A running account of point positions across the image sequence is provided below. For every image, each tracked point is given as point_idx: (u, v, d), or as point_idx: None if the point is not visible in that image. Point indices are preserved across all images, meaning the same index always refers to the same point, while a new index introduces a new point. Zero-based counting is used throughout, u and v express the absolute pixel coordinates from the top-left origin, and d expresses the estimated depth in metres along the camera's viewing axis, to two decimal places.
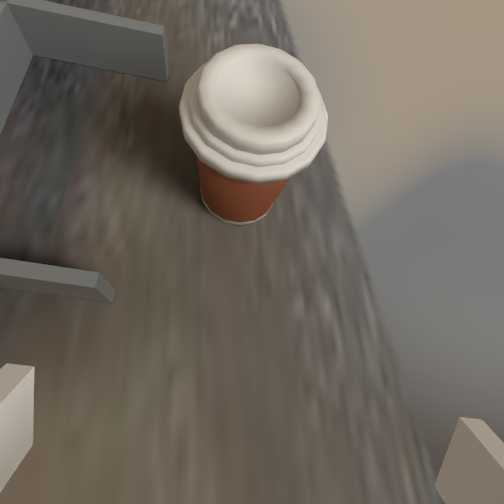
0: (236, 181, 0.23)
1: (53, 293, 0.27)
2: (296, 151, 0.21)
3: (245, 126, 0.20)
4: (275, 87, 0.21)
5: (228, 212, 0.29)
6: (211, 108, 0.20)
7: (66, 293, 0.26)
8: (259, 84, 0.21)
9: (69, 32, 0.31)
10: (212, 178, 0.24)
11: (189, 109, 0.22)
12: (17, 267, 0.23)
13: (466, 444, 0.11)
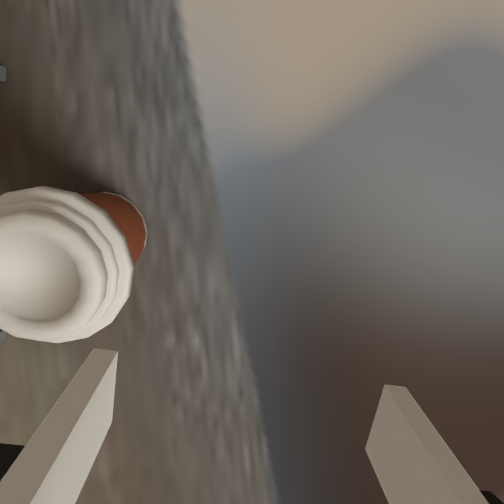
0: None
1: None
2: (87, 326, 0.21)
3: (19, 325, 0.20)
4: (51, 269, 0.19)
5: None
6: None
7: None
8: (32, 267, 0.19)
9: None
10: None
11: None
12: None
13: (388, 408, 0.12)
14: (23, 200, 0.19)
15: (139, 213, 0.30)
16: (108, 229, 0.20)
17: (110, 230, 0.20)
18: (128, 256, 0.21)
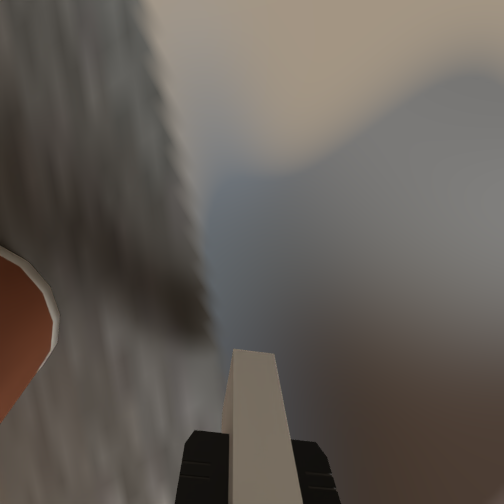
0: None
1: None
2: None
3: None
4: None
5: None
6: None
7: None
8: None
9: None
10: None
11: None
12: None
13: None
14: None
15: (36, 283, 0.14)
16: None
17: None
18: None
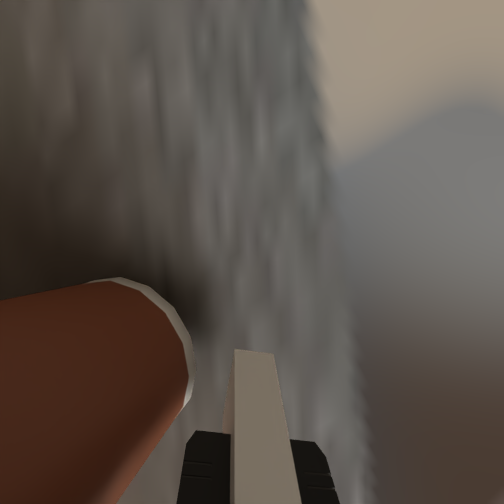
0: None
1: None
2: None
3: None
4: None
5: None
6: None
7: None
8: None
9: None
10: None
11: None
12: None
13: None
14: None
15: (178, 332, 0.13)
16: None
17: None
18: None
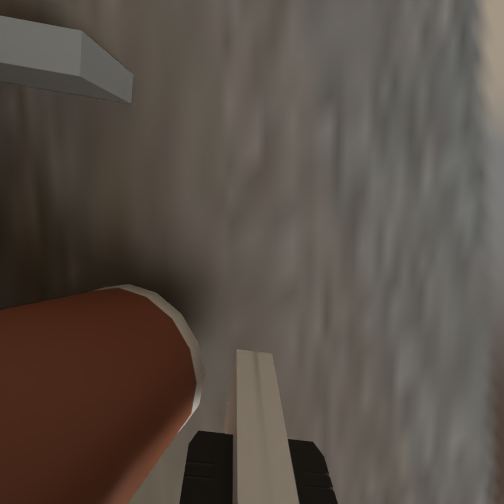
0: None
1: None
2: None
3: None
4: None
5: None
6: None
7: None
8: None
9: None
10: None
11: None
12: None
13: None
14: None
15: (185, 338, 0.13)
16: None
17: None
18: None
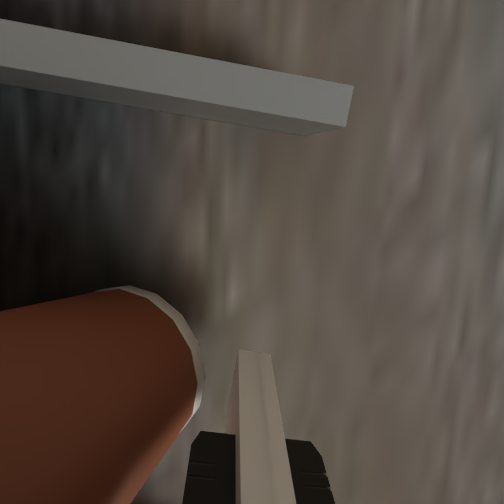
0: None
1: None
2: None
3: None
4: None
5: None
6: None
7: None
8: None
9: (61, 83, 0.10)
10: None
11: None
12: None
13: None
14: None
15: (186, 339, 0.13)
16: None
17: None
18: None
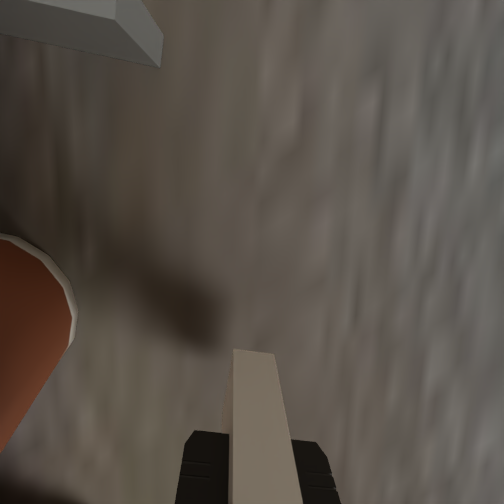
0: None
1: None
2: None
3: None
4: None
5: None
6: None
7: None
8: None
9: None
10: None
11: None
12: None
13: None
14: None
15: (57, 278, 0.14)
16: None
17: None
18: None
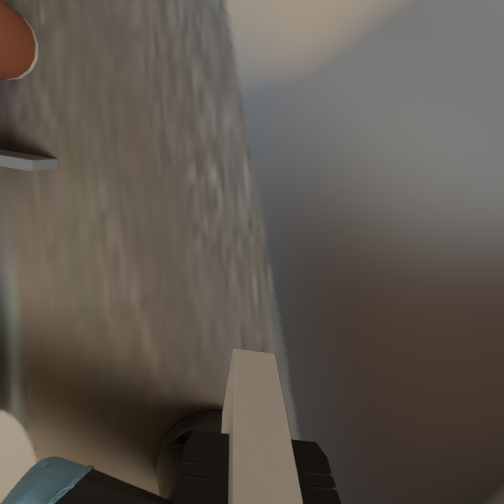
0: None
1: None
2: None
3: None
4: None
5: None
6: None
7: None
8: None
9: None
10: None
11: None
12: None
13: None
14: None
15: (29, 26, 0.35)
16: None
17: None
18: None
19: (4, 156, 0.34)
